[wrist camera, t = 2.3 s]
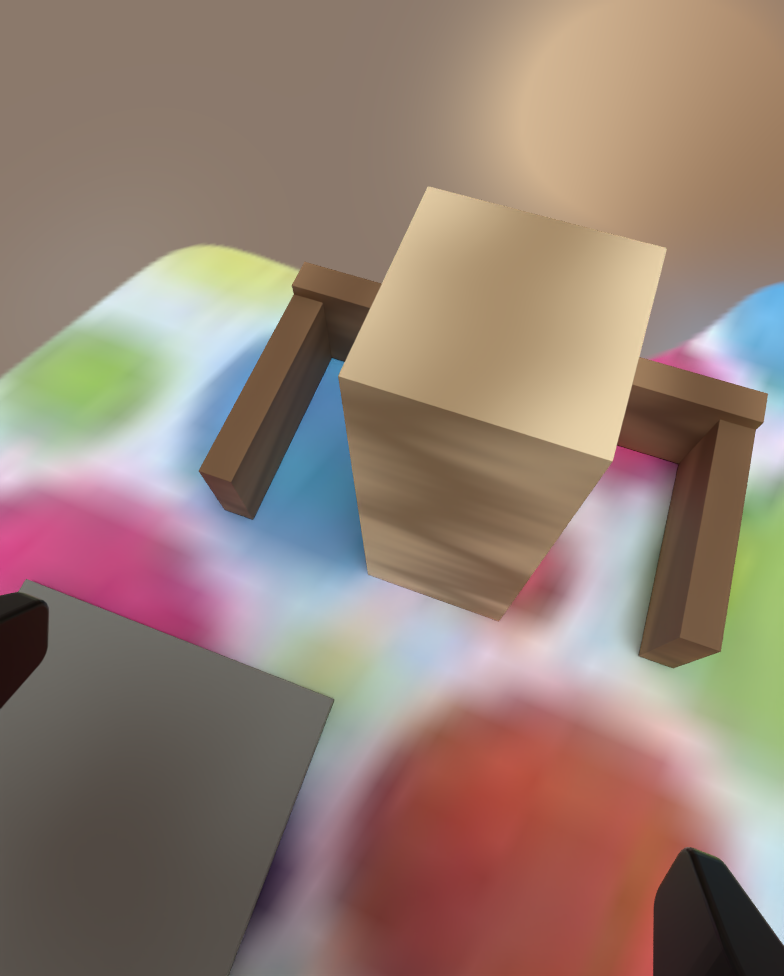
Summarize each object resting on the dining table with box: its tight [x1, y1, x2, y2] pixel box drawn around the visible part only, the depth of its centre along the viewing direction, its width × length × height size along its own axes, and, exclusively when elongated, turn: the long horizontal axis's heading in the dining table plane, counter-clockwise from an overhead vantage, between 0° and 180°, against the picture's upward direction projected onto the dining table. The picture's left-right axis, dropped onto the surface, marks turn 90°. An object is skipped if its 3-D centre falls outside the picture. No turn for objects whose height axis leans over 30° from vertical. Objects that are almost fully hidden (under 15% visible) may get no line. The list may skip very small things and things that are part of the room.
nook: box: [199, 262, 768, 668], centre depth 23 cm, size 17×9×4 cm, turn 70°
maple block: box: [338, 187, 667, 621], centre depth 18 cm, size 5×5×13 cm
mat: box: [0, 579, 334, 976], centre depth 20 cm, size 12×12×1 cm
